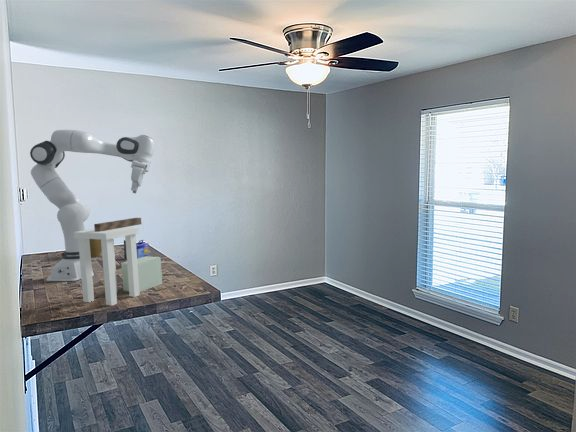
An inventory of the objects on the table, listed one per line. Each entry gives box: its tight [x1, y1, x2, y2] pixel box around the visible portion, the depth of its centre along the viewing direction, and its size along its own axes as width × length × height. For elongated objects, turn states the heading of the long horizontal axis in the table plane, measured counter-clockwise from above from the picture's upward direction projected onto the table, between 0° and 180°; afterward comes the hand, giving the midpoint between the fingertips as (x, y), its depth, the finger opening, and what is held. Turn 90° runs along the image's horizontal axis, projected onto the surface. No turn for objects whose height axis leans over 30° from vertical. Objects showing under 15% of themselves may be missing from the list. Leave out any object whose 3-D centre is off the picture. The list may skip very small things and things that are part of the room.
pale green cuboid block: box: [120, 256, 163, 293], centre depth 206 cm, size 16×9×13 cm, turn 156°
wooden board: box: [93, 217, 142, 232], centre depth 193 cm, size 24×3×3 cm, turn 156°
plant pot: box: [89, 239, 102, 258], centre depth 290 cm, size 15×15×16 cm
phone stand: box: [123, 240, 127, 261], centre depth 278 cm, size 9×6×12 cm, turn 29°
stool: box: [74, 226, 141, 307], centre depth 188 cm, size 18×18×30 cm
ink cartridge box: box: [136, 239, 150, 259], centre depth 259 cm, size 10×6×14 cm, turn 158°
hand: (133, 191), depth 226 cm, fingers open, 8 cm apart
